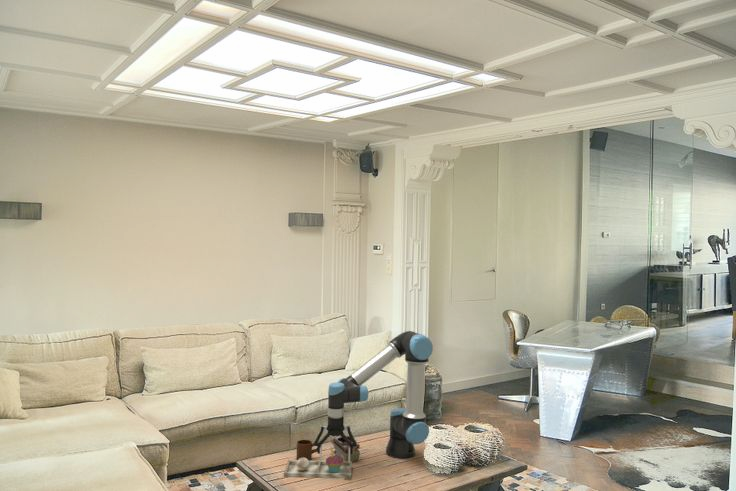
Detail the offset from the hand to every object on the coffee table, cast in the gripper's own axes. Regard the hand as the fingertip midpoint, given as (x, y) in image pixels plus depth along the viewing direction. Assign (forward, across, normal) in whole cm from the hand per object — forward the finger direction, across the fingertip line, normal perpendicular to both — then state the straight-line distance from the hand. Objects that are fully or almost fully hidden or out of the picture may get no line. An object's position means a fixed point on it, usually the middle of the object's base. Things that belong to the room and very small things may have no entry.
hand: (334, 460), depth 290 cm
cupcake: (+5, 0, 0) cm, 5 cm away
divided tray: (+6, +8, 0) cm, 10 cm away
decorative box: (+6, -3, -21) cm, 22 cm away
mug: (+6, +14, -15) cm, 21 cm away
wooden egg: (+5, +15, 0) cm, 16 cm away
